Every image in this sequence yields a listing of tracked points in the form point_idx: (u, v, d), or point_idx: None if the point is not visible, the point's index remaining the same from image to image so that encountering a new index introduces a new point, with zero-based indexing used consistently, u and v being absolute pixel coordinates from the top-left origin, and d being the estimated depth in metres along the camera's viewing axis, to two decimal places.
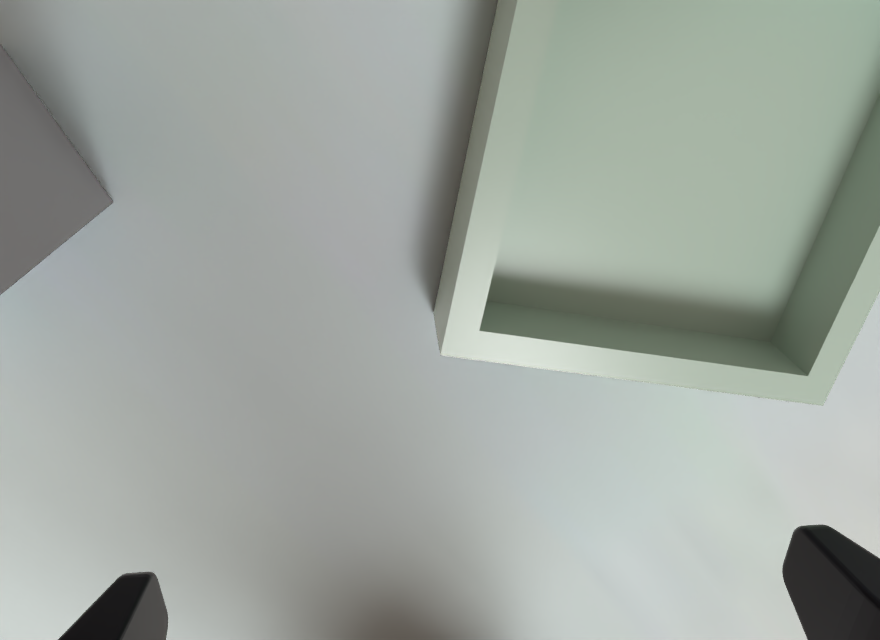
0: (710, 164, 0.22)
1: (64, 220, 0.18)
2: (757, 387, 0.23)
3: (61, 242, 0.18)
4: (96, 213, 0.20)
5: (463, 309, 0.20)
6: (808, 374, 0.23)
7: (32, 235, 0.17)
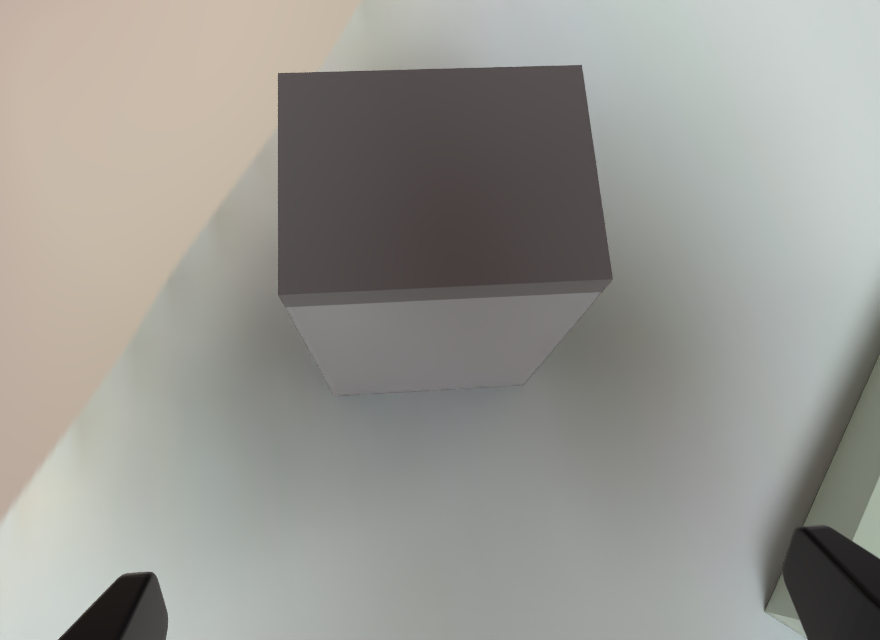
0: None
1: None
2: None
3: None
4: (529, 375, 0.23)
5: None
6: None
7: None
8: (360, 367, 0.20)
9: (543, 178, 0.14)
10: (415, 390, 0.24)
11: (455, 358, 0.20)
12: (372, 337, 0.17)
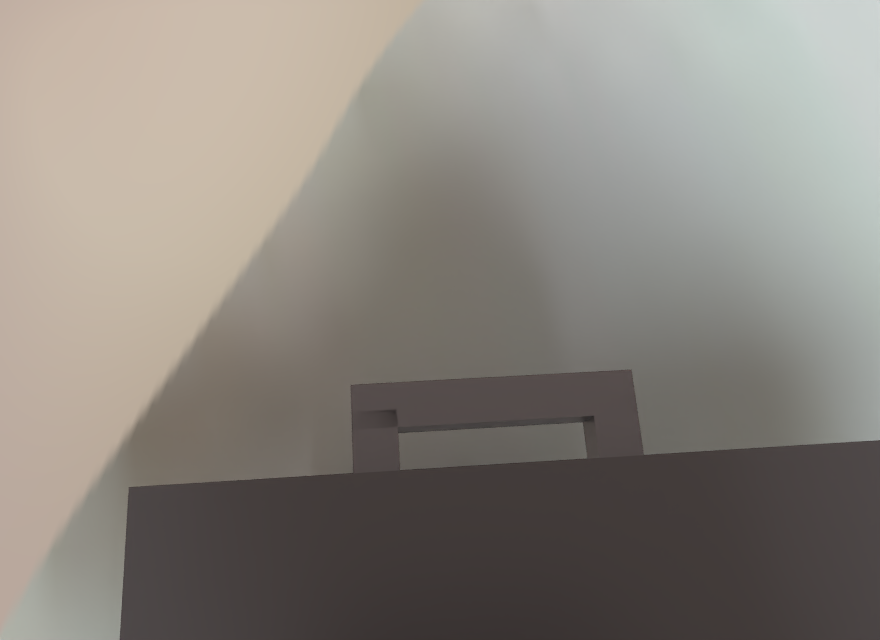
0: None
1: None
2: None
3: None
4: None
5: None
6: None
7: None
8: None
9: None
10: None
11: None
12: None
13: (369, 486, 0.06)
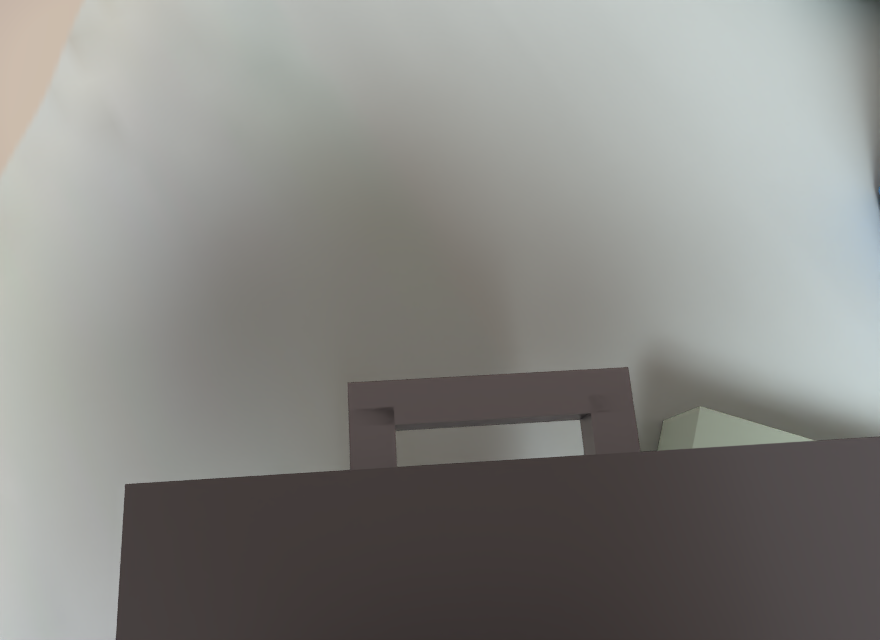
0: None
1: None
2: None
3: None
4: None
5: None
6: None
7: None
8: None
9: None
10: None
11: None
12: None
13: (365, 483, 0.06)
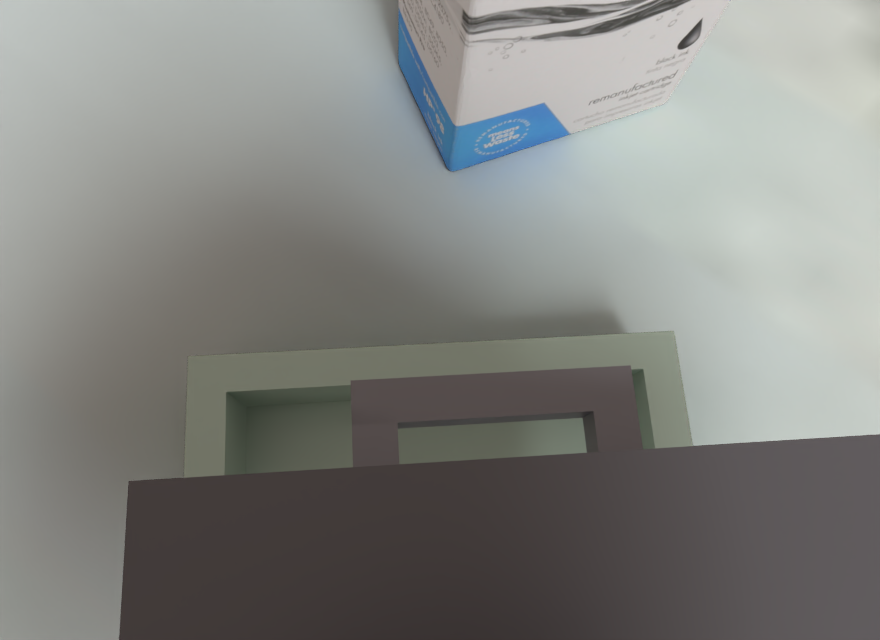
0: None
1: None
2: None
3: None
4: None
5: None
6: None
7: None
8: None
9: None
10: None
11: None
12: None
13: (369, 480, 0.06)
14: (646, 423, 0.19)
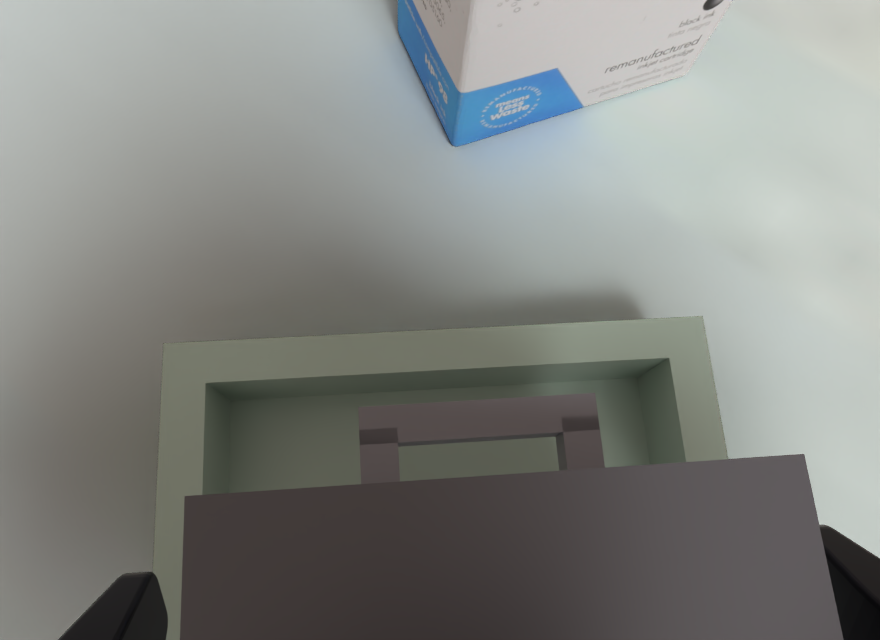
0: None
1: None
2: None
3: None
4: None
5: None
6: None
7: None
8: None
9: None
10: None
11: None
12: None
13: (375, 494, 0.07)
14: (673, 418, 0.17)
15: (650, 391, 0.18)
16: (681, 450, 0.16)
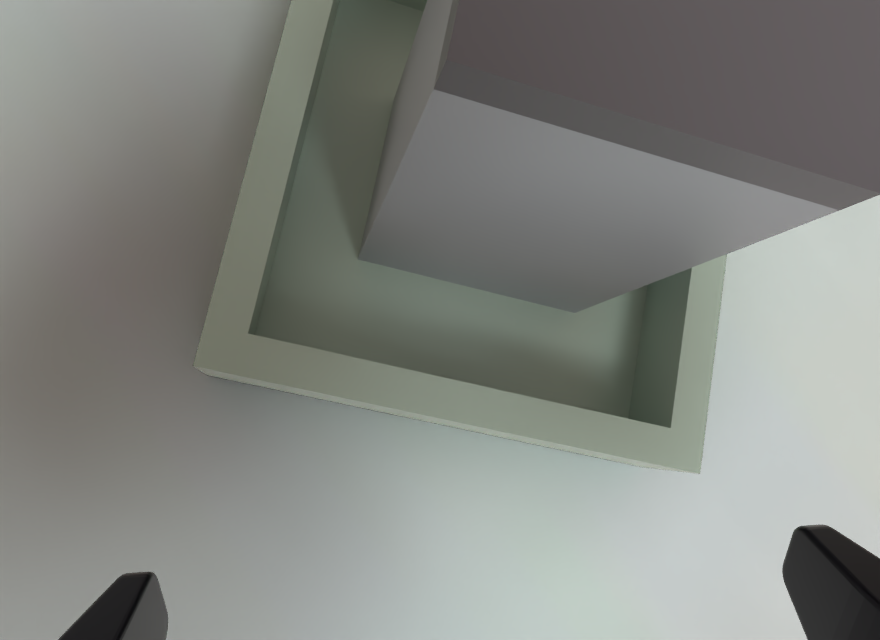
0: None
1: None
2: (614, 441, 0.18)
3: (637, 286, 0.17)
4: (594, 303, 0.19)
5: (227, 302, 0.16)
6: (670, 426, 0.18)
7: None
8: (428, 228, 0.16)
9: (827, 30, 0.10)
10: (454, 281, 0.20)
11: (547, 253, 0.16)
12: (490, 185, 0.13)
13: None
14: None
15: None
16: None
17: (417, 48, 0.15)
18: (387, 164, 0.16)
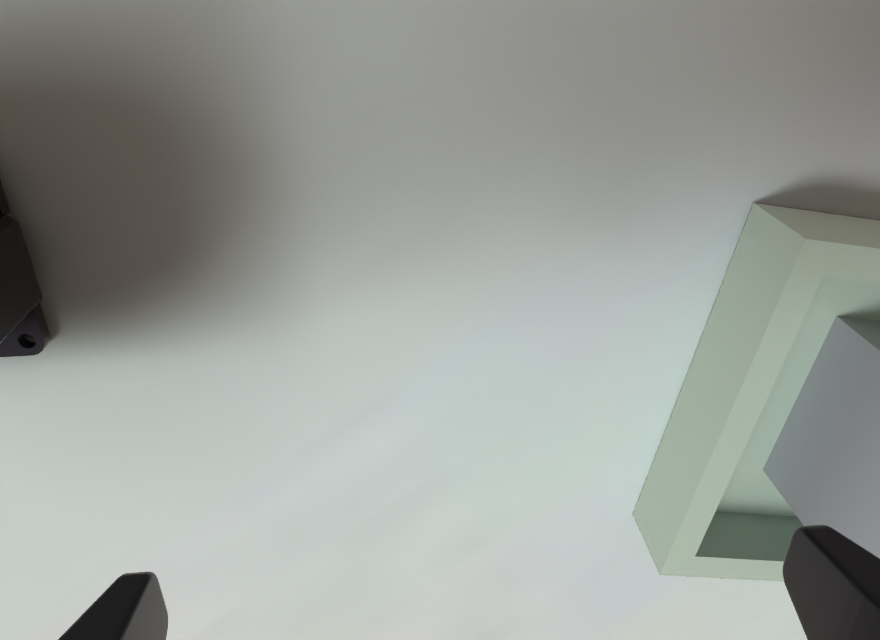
0: None
1: None
2: (692, 523, 0.24)
3: None
4: (781, 494, 0.25)
5: (852, 258, 0.19)
6: (696, 556, 0.25)
7: None
8: None
9: None
10: (805, 388, 0.24)
11: (871, 502, 0.21)
12: None
13: None
14: None
15: None
16: None
17: None
18: None
